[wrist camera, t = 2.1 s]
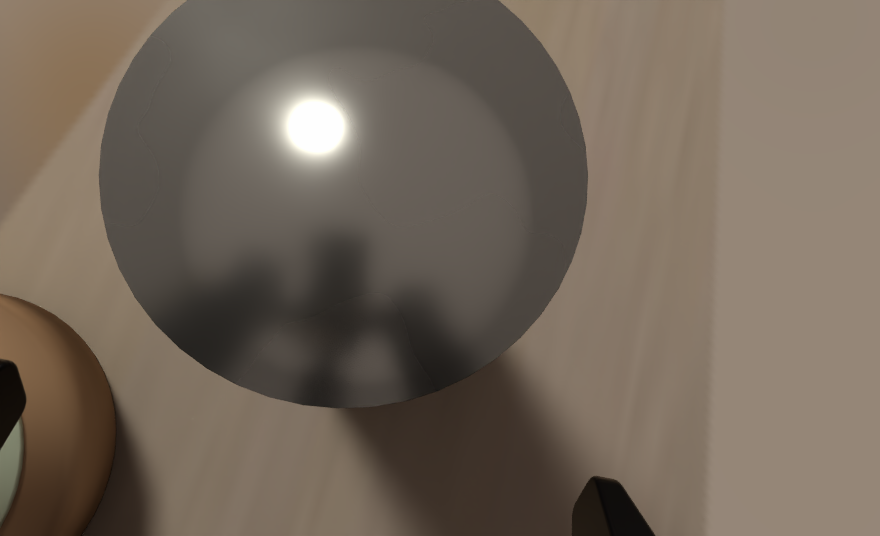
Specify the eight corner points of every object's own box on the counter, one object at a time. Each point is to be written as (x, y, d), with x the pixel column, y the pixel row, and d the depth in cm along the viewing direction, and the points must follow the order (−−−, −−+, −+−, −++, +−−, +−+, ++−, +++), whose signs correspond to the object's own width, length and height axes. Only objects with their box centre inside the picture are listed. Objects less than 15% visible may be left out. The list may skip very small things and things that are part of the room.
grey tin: (417, 411, 19) (476, 494, 6) (257, 338, 19) (-4, 274, 6) (486, 255, 20) (651, 65, 8) (335, 186, 20) (248, -123, 8)
